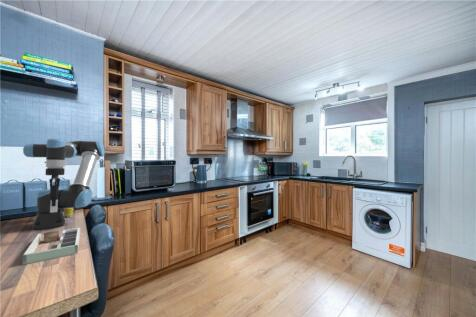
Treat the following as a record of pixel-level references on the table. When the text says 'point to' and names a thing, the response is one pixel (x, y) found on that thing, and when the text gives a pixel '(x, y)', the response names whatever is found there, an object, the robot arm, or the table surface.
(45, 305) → the table surface
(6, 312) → the table surface
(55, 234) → the brown rounded cylinder
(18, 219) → the table surface
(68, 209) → the supplement bottle
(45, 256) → the box
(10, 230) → the table surface
